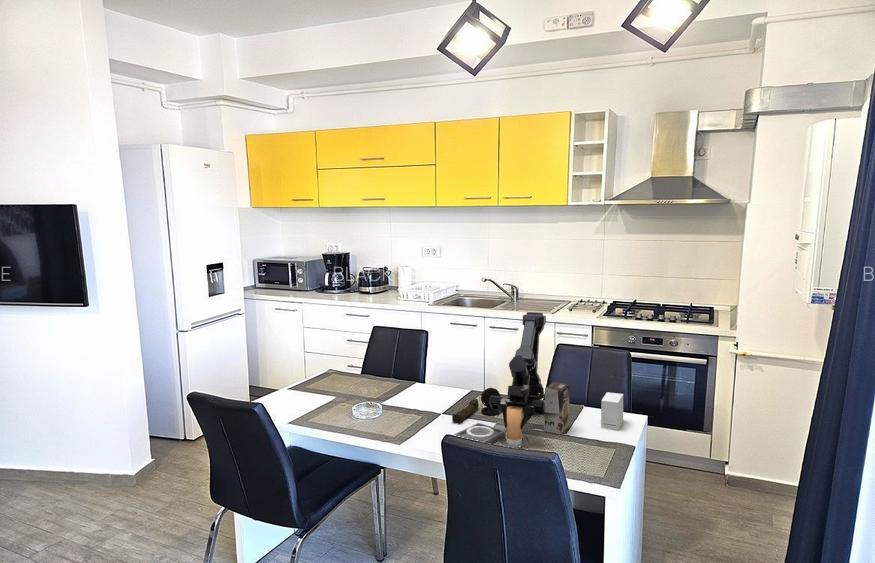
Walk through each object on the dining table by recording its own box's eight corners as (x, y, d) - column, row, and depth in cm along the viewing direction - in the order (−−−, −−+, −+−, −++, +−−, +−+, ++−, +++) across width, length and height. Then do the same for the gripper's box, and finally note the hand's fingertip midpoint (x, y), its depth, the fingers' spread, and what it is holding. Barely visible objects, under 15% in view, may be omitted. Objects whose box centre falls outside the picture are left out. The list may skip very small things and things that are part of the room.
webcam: (497, 408, 225) (497, 384, 224) (503, 415, 218) (503, 390, 217) (478, 410, 224) (478, 385, 223) (483, 416, 217) (483, 391, 215)
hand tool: (461, 425, 209) (461, 413, 208) (451, 423, 211) (451, 411, 210) (484, 410, 225) (484, 398, 224) (475, 408, 227) (475, 397, 226)
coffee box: (560, 435, 198) (561, 390, 196) (543, 431, 202) (544, 387, 200) (569, 426, 206) (570, 383, 204) (552, 423, 209) (553, 381, 207)
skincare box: (605, 418, 214) (606, 391, 213) (623, 421, 211) (624, 393, 210) (599, 427, 205) (600, 399, 203) (618, 430, 202) (619, 402, 200)
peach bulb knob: (519, 442, 192) (519, 405, 191) (523, 448, 187) (523, 410, 186) (505, 443, 192) (505, 406, 190) (508, 449, 187) (508, 411, 185)
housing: (478, 427, 205) (478, 421, 205) (505, 436, 198) (505, 429, 197) (454, 439, 195) (453, 432, 195) (481, 449, 187) (481, 441, 187)
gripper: (490, 372, 193) (481, 414, 185) (544, 377, 187) (538, 421, 178) (495, 388, 202) (487, 429, 193) (547, 393, 196) (542, 435, 187)
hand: (513, 428), depth 188 cm, fingers closed on peach bulb knob, 5 cm apart
